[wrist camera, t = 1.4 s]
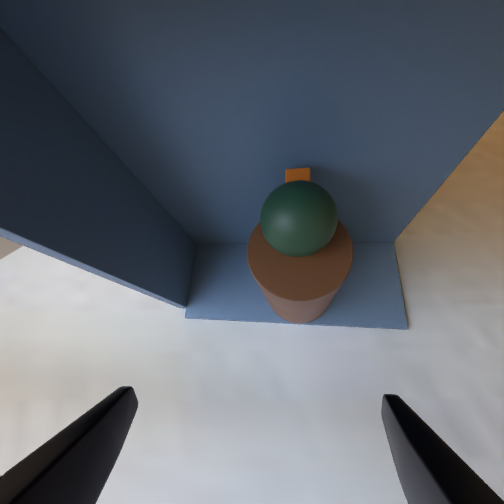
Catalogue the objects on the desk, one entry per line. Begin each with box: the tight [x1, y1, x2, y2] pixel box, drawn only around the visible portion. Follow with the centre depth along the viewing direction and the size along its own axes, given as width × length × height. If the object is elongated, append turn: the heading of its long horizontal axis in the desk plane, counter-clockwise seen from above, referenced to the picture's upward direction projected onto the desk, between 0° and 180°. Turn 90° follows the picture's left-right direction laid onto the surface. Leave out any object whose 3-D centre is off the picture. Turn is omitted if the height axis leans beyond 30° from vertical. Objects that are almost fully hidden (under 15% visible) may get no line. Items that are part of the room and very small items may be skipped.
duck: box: [247, 168, 353, 323], centre depth 17 cm, size 7×6×14 cm
